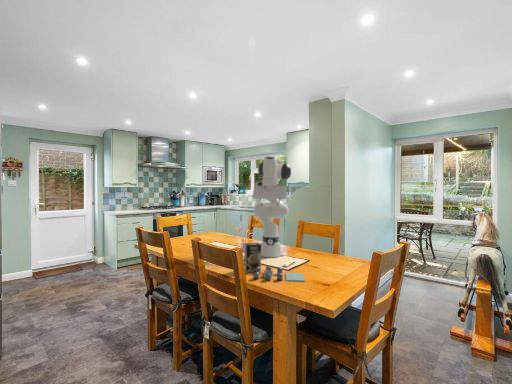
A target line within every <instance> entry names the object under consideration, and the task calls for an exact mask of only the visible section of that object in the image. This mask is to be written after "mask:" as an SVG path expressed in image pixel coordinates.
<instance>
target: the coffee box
mask: <svg viewBox="0 0 512 384" xmlns="http://www.w3.org/2000/svg"><path fill="white" fill-rule="evenodd" d="M243 257H244V259H243V261H244V262H243V266H244V265H245V270H244V271H245V273H253V272H255V267H256V266H258V267H260V272H261V266H262V264H261V262H262V256H261V243H259V242H248V243H245V242H244V256H243Z"/></svg>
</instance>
